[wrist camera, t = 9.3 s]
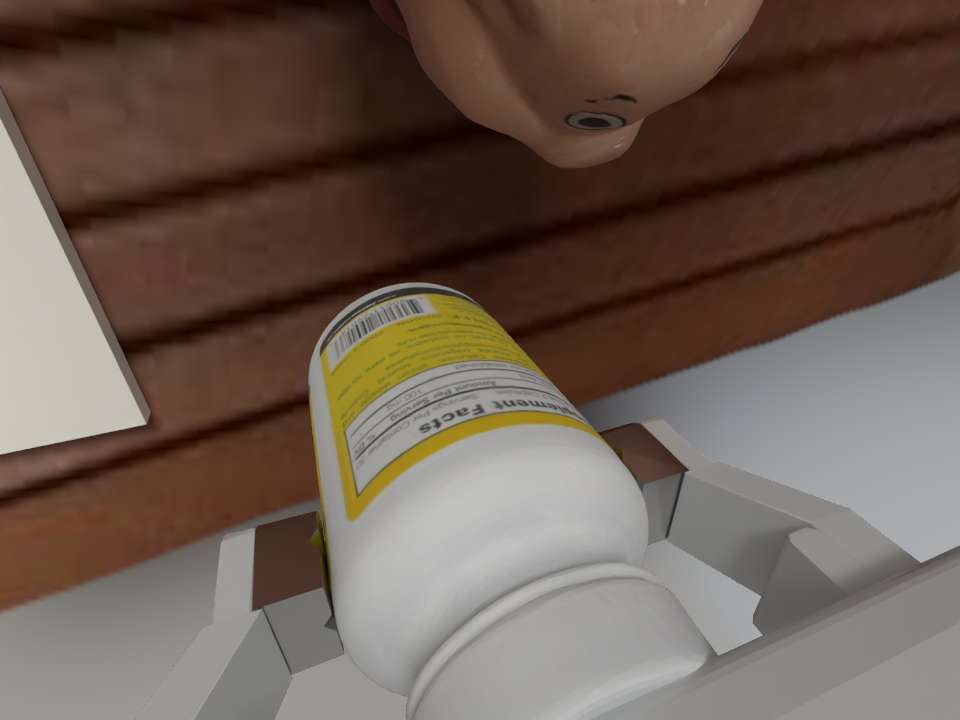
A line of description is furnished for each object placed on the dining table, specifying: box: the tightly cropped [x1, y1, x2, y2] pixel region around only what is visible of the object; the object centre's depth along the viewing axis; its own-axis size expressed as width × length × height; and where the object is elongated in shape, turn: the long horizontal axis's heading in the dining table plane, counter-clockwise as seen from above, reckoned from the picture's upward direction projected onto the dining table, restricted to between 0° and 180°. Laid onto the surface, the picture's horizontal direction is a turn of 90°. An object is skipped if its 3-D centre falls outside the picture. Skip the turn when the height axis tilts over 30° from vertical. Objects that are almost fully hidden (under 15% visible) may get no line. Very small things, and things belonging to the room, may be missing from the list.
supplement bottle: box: [308, 283, 718, 720], centre depth 10 cm, size 5×5×10 cm
